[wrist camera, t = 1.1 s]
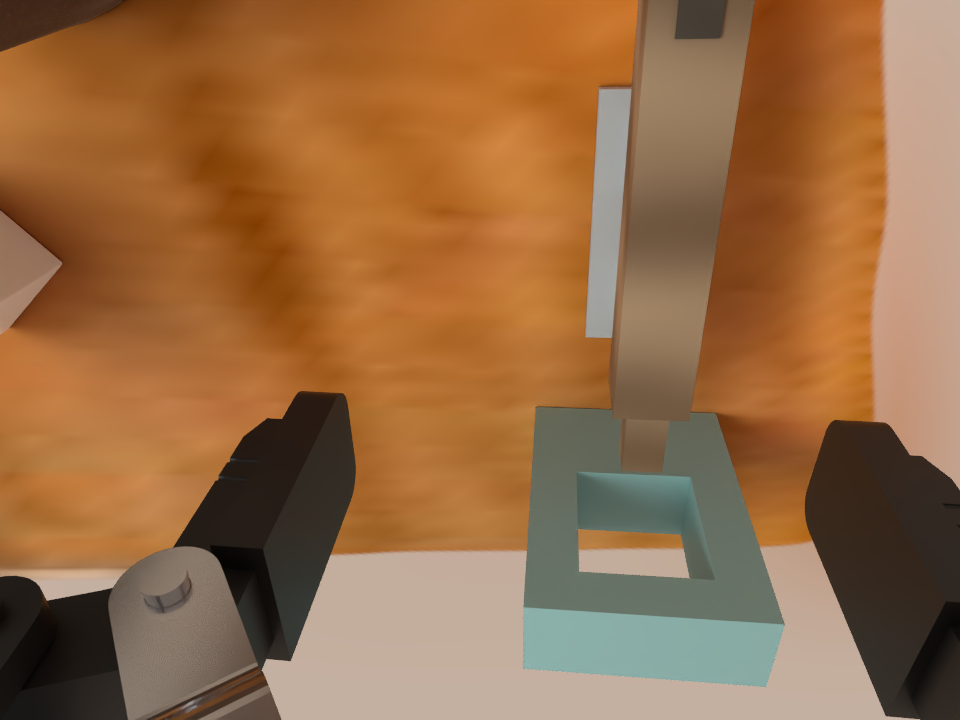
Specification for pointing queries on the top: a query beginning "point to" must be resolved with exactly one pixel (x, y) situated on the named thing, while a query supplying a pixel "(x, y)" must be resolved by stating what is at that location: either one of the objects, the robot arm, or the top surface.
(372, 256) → the top surface
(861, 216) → the top surface
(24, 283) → the milk
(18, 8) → the plant pot
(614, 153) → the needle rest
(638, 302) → the needle
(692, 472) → the teal rectangular frame
